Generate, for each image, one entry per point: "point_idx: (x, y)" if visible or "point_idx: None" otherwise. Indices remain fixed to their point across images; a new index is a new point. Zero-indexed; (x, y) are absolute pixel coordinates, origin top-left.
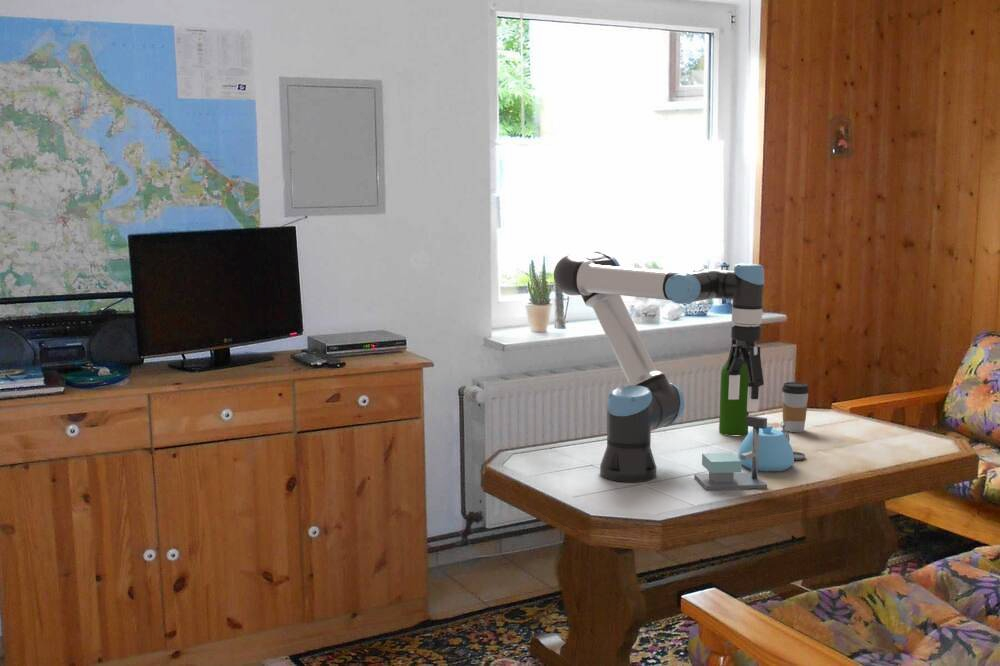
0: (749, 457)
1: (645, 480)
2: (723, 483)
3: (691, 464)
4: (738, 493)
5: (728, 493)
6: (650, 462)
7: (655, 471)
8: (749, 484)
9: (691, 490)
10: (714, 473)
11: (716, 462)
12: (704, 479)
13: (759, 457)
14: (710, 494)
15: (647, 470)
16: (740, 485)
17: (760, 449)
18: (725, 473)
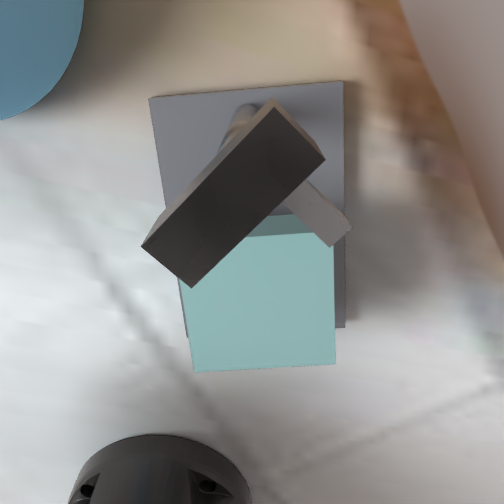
0: (318, 191)
1: (239, 473)
2: None
3: (8, 306)
4: (393, 218)
5: (389, 254)
6: (193, 500)
7: (194, 457)
8: (334, 163)
9: (340, 364)
10: None
11: (334, 341)
12: None
13: (54, 47)
14: (392, 316)
15: (224, 492)
16: (343, 203)
17: (18, 38)
18: None
